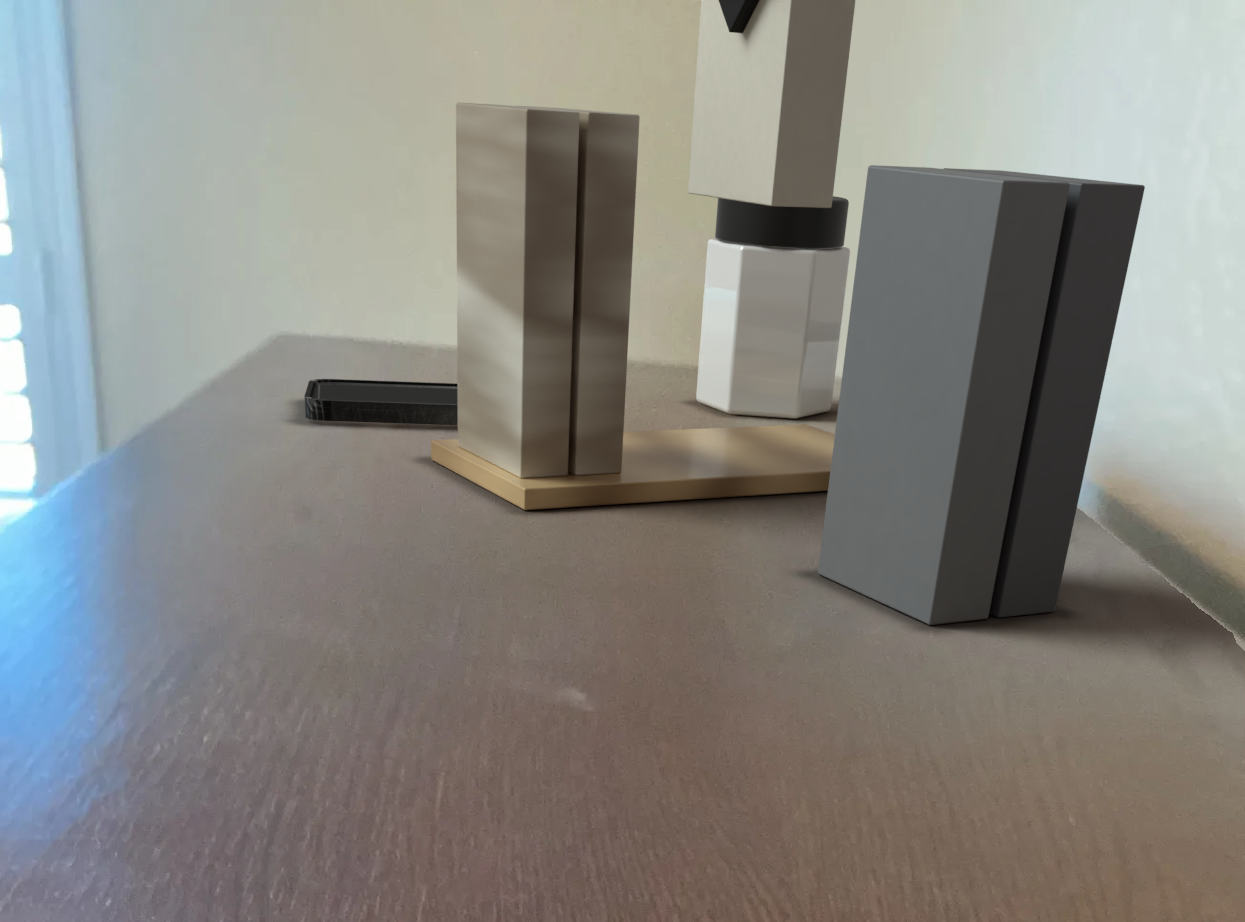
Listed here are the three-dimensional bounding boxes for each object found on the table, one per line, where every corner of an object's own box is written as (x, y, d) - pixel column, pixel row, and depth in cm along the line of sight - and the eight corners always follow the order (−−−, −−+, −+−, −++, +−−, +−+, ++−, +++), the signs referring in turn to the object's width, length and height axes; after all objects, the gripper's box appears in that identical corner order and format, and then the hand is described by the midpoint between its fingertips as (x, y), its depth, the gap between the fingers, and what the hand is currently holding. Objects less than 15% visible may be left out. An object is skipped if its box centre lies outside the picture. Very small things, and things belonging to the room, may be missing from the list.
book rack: (803, 442, 91) (840, 123, 82) (925, 485, 83) (981, 133, 74) (430, 460, 82) (425, 100, 73) (524, 511, 73) (531, 110, 64)
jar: (829, 402, 104) (853, 196, 97) (832, 422, 97) (859, 203, 91) (698, 392, 105) (713, 187, 98) (692, 412, 98) (708, 194, 91)
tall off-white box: (745, 195, 80) (778, -181, 71) (832, 208, 74) (879, -199, 65) (687, 193, 78) (714, -190, 70) (771, 206, 72) (811, -210, 64)
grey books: (936, 563, 69) (1001, 171, 60) (1055, 612, 63) (1146, 185, 54) (816, 574, 66) (867, 165, 58) (929, 626, 60) (1003, 180, 52)
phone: (309, 378, 94) (552, 386, 96) (311, 398, 95) (551, 406, 96) (303, 400, 88) (563, 408, 89) (304, 421, 88) (562, 429, 90)
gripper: (921, -570, 47) (635, 70, 69) (1295, -461, 54) (929, 90, 75) (847, -766, 48) (587, -74, 69) (1225, -636, 55) (882, -41, 76)
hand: (765, 10), depth 72 cm, fingers closed on tall off-white box, 4 cm apart
